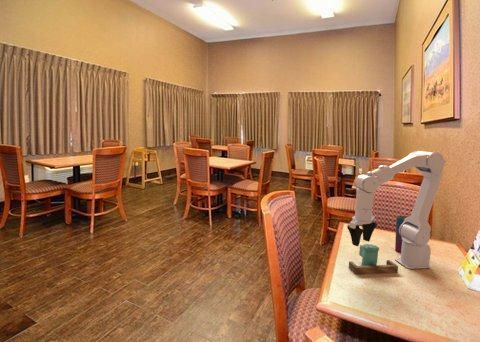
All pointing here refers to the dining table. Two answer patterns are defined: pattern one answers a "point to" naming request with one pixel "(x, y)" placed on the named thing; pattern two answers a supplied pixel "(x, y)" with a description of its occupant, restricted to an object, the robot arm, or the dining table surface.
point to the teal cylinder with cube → (369, 254)
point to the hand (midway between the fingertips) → (361, 242)
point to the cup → (398, 237)
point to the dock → (374, 268)
